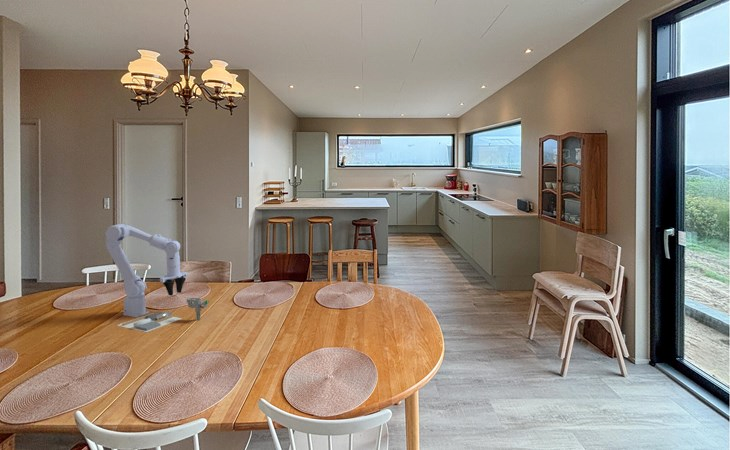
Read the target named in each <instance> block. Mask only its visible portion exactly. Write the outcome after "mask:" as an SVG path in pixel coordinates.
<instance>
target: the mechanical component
mask: <svg viewBox="0 0 730 450" xmlns="http://www.w3.org/2000/svg"><path fill="white" fill-rule="evenodd" d="M186 303H187V307H188V308H190V309H195V310H194V312H195V313H196V315H195V316H196V321H200V320H201V311H202V309H206V308H207V307H208V305H209V303H210V302H209V300H208V299H204V300H202V298H195V297H190V298H187V299H186Z"/></svg>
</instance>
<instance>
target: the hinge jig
mask: <svg viewBox="0 0 730 450" xmlns="http://www.w3.org/2000/svg"><path fill="white" fill-rule="evenodd" d="M153 313H154V312H152V313H151V312H150V313H147V314H144V315H141V316H139V317H136V318H135V319H131V320H129V321H125V322H121V323H119V324H117V325H116V326H118V327H121V328H122V327H123V328H127V329H131V330H136V331H139V332H140V331H141V332H144V333H147V332H150V331H153V330H157V329H159V328H162V327H164V326H167V325H169V324H172V323H174V322H177V321H180V320H182V319H183V317H182V318H181V317H177V316H173V315H171V316H168V317H165V318H162V319H160V320H152V319H150V318H148V319H147V318H146V316H148V315H150V314H153Z"/></svg>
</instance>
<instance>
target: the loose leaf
mask: <svg viewBox="0 0 730 450" xmlns="http://www.w3.org/2000/svg"><path fill="white" fill-rule="evenodd" d="M152 313H153V314H151V313H149V314H150V315H148V314H147V315H148V316H146V318H147V319H148V318H150V319H152V320H160V319H162V318H165V317H168V316H173V315H172V312H171V311H170V310H169V311H168V310H167V311H166V312H163V311H157V312H152Z"/></svg>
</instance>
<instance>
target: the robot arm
mask: <svg viewBox="0 0 730 450" xmlns="http://www.w3.org/2000/svg"><path fill="white" fill-rule="evenodd" d="M104 234H105V248H106V250H107V251H108V253H109V254H110V257H111V258H112V260H113V262H114V263H115V266H116V267H117V270H118V271H119V273H120V275H121V276H122V279H123V287H124V292H125V294H126V296H125V297H124V298H123V302H122V303H123V313H122V315H124V316H126V317H127V316H128V317H132V318H139V317H142V316H145V315H148V314H151V311H149V310H146V309H147V308H146V294H145V291H146V289H147V284H146V282H145V281H144V280H142V279H141V277H140V276H139V275H138V274H136V273H135V270H134V269H133V267H132V265H131V263H130V261H129V259H128V257H127V255H126V254H125V252H124V250H123V248H122V246H121V244H122V241H123V239H124V238H127V237H133V238H136V239H139V240H143V241H146V242H148V243H149V245H150V246H152V247H154V248H157V249H159V250H161V251H164V252H165V253H166V271H167V272H166V273H167V275H164V276H162V277H159V283H162V284H163V286H164V287H165V288H166V291H167V294H168V296H173V295H174V284H175V286H176V293H177V294H178V293H179V294H181V293H182V290H183V285H184V283H185V281H186V278H187V277H188V271H181V257H180V249H181V243H180V242H179V241H177V240H176V239H171V238H167V237H164V236H162V234H160V233H158V234H157V233H155V234H153V235H151V234H150V233H147V232H145V231H143V230H140V229H138V228H136V227H134V226H133V225H132V226H131V225H129V224H126V223H123V222H121V223H118V224H114V225H112V224H111V225H110V226H108V228H107V229H106V231H105V232H104ZM172 280H173V281H172Z"/></svg>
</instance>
